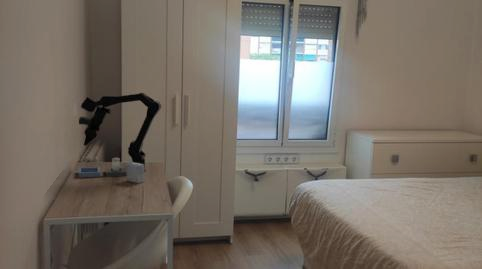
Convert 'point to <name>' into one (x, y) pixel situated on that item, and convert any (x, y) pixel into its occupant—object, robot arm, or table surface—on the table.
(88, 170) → the parts tray
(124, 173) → the grey flat square frame
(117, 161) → the grey rounded piece
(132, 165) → the medicine box
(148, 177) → the table surface
